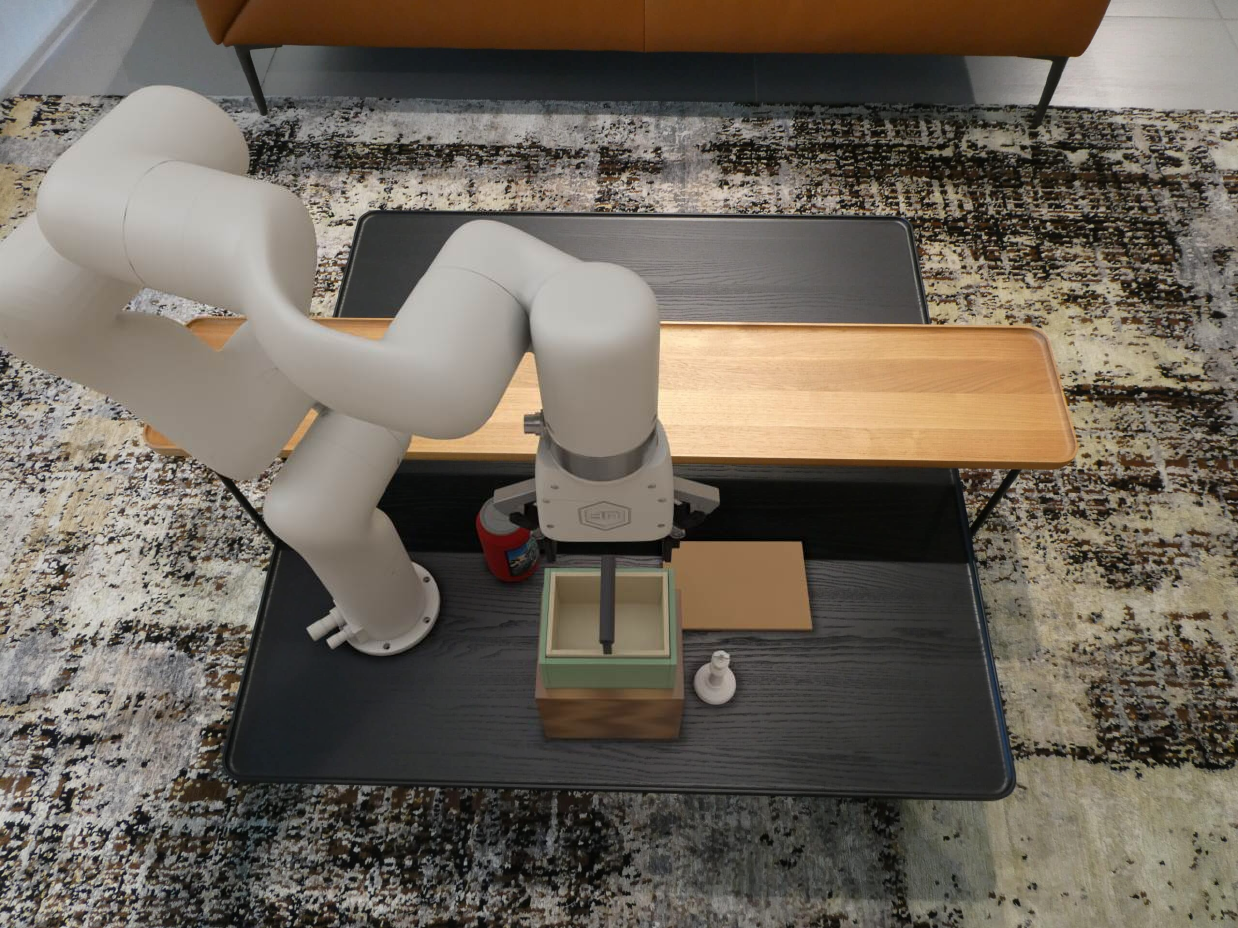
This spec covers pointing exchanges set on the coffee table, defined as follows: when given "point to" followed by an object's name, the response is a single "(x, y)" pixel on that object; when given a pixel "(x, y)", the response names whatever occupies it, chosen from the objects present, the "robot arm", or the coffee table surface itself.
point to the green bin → (608, 669)
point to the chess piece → (715, 680)
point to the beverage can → (506, 545)
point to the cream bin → (608, 614)
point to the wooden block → (613, 705)
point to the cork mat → (741, 585)
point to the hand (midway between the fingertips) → (609, 547)
